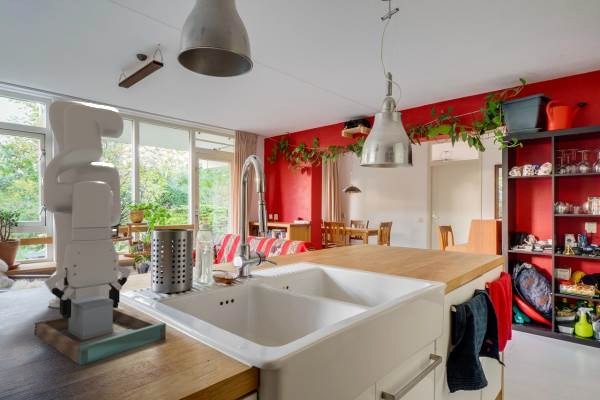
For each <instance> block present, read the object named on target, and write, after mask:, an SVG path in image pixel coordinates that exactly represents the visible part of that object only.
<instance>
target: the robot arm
mask: <svg viewBox="0 0 600 400" xmlns="http://www.w3.org/2000/svg"><path fill="white" fill-rule="evenodd" d="M48 119H49V125H50V128H51V130H52V134H53V136H54V138H55V140H56V142H57V146H58V153H57V154H56V155H55V156H54V157H53V158H52V159H51V160H50V161H49V162H48V164H47V165H46V167H45V170H44V172H43V173H44V174H43V203H44V208H45V210H47V211H48V212H50V213H51V214H53V218H54V224H55V232H56V237H55V239H56V263H55V265H56V267H55V268H56V271H55V274H54V275H52V276H51V277H49V278H47V279H46V280H44V285H45V286H46V287H47V289H48V290H49V292H50V293H51V294H52V295H54V296H55V298H53V299H50V301H49V303H48V305H49V306H50V307H51V308H56V309H57V308H58V309H59V315H60V316H61V317H64V318H66V319H68V318H70V317H71V300H73V299H76V289H81V288H87V287H93V286H99V285H105V284H108V285H109V286H110V287H111V289H110V290H109V299H111V300H114V301H113V308H119V303H120V298H121V297H120V296H121V295H120V294H121V293H120V291H121V290H122V289H123V286H124V285H125V284H126V283H127V282H128V278H129V276H130V275H131V273H132V270H131V269H130V268H127V267H124V266H122V265H120V264H119V265H117V258H116V252H117V251H116V247H115V243H114V240H111V239H112V237H113V236H116V235H117V229H112V227H114V226H118V225H119V223H120V221H121V218H122V198H121V197H122V196H121V194H122V193H121V178H120V172H119V169H118V168H117V166H115V164H112V163H106V162H97V161H99V159H100V158H102V156H103V154H104V153H103V152H104V151H103V150H104V149H103V143H102V137H103V138H104V137H105V138H111V139H118V138H120V137H121V136H122V135H123V133H124V125H125V124H124V123H125V122H124V119H123V115H122V114H121V112H120V110H118V109H116V108H114V107H112V106H106V105H100V104H95V103H88V102H83V101H82V102H81V101H77V100H68V99H61V100H60V99H59V100H55V101H52V102H51V103H50V104H49V107H48ZM58 178H59V181H58ZM117 271H118V272H120V273H121V275H120V276H119V277H118V280H117ZM116 280H117V281H116Z"/></svg>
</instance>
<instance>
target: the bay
mask: <svg viewBox="0 0 600 400" xmlns="http://www.w3.org/2000/svg"><path fill="white" fill-rule="evenodd" d="M113 321H116V322H119V323H121V324H123V325H126V326H128V327H130V328H128V329H124V330H122V331H118V332H114V333H113V332H112V333H111V334H110V333H109V334H107V335H106V334H105V335H102V336H98V337H95V338H93V339H88V340H85V341H83V342H77V341H75V340H73V339H72V338H70V337H68V336H67V335H65V334H64V333H62V332H60V330H64V329H68V328H69V318H68V319H66V318H64V317H62V316H61V317H55V318H51V319H47V320H42V321H38V322H37V321H36V322H35V323H34V335H35V336H36V337H38V338H40V339H41V340H42V341H44V343H47V344H48V345H50V346H51V347H53V348H54V349H56V350H57V351H58V352H61V354H63V355H64V356H66V357H67V358H68V359H70V360H72V361H73V362H75V363H76V364H77V365H79V366H83V365H87V364H89V363H92V362H95V361H98V360H102V359H105V358H107V357H110V356H113V355H116V354H119V353H123V352H125V351H129V350H131V349H134V348H137V347H140V346H143V345H147V344H150V343H153V342H155V341H159V340H162V339H166V337H167V334H166V333H167V332H166V330H167V326H166V325H167V323H166V322H163V321H162V322H157V321H154V320H152V319H149V318H146V317H143V316H141V315H138V314H135V313H133V312H130V311H127V310H124V309H121V308H119V307H118V308H113Z"/></svg>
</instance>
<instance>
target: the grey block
mask: <svg viewBox="0 0 600 400" xmlns="http://www.w3.org/2000/svg"><path fill="white" fill-rule="evenodd" d="M113 301H114V300H111V299H108V298H105V297H103V296H100V295H94V296H89V297H84V298H78V299H73V300H71V317H70V318H69V328H67V332H68V333H69V334H71V335H73V336H75V337H77V338H78V339H80V340H82V341H84V340H85V341H86V340H89V339H91V338H96V337H100V336H104V335H106V334H110V333H113V332H114V328H113V326H114V325H113V321H114V319H113Z"/></svg>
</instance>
